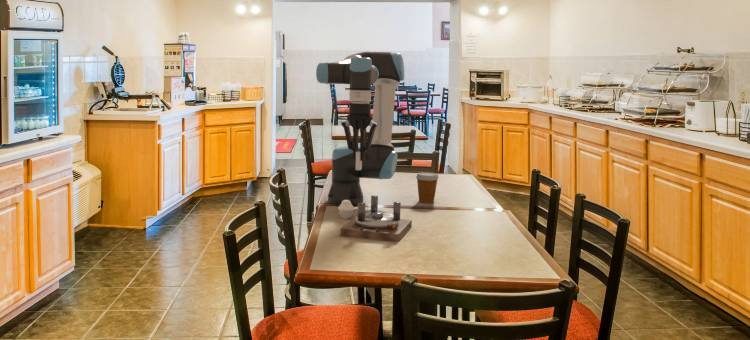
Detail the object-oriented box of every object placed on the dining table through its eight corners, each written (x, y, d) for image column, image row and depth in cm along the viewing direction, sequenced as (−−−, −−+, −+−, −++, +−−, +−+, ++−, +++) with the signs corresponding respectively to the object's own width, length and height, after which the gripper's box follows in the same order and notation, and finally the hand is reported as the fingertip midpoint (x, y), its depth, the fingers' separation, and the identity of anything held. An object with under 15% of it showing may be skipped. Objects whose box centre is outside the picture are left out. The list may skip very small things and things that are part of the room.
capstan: (349, 226, 201) (350, 203, 200) (362, 216, 215) (363, 194, 214) (394, 231, 197) (395, 207, 196) (405, 220, 211) (406, 198, 210)
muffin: (346, 220, 220) (346, 202, 219) (334, 217, 224) (334, 199, 223) (357, 217, 225) (357, 199, 223) (345, 214, 229) (346, 197, 227)
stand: (340, 235, 200) (340, 226, 199) (358, 221, 219) (358, 212, 218) (398, 241, 195) (398, 232, 194) (411, 226, 214) (411, 217, 213)
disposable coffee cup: (436, 204, 250) (437, 176, 248) (413, 203, 252) (414, 175, 249) (438, 199, 259) (439, 172, 257) (416, 198, 261) (417, 171, 259)
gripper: (338, 102, 206) (337, 169, 210) (375, 103, 202) (373, 172, 206) (345, 101, 213) (344, 166, 217) (381, 102, 210) (379, 169, 213)
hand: (358, 169), depth 212 cm, fingers closed
